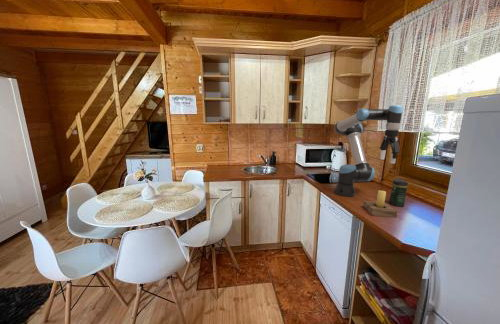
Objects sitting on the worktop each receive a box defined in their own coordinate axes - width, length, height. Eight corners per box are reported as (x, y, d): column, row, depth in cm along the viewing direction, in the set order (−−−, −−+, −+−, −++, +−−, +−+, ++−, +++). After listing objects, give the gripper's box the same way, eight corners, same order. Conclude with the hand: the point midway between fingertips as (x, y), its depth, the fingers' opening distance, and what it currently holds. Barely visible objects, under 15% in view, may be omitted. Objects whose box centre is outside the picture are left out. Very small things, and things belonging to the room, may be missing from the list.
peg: (373, 210, 139) (376, 190, 136) (380, 210, 138) (384, 190, 135) (376, 212, 134) (380, 192, 132) (384, 213, 134) (387, 192, 131)
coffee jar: (405, 207, 144) (410, 181, 140) (393, 206, 146) (397, 180, 142) (399, 202, 153) (404, 178, 149) (387, 200, 155) (391, 177, 151)
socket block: (363, 206, 144) (364, 201, 143) (384, 208, 142) (385, 202, 141) (372, 215, 130) (373, 209, 130) (396, 217, 129) (397, 211, 128)
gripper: (377, 128, 149) (372, 157, 153) (396, 130, 125) (390, 164, 129) (388, 129, 148) (383, 158, 152) (410, 131, 124) (403, 165, 128)
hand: (387, 161), depth 141 cm, fingers open, 13 cm apart
